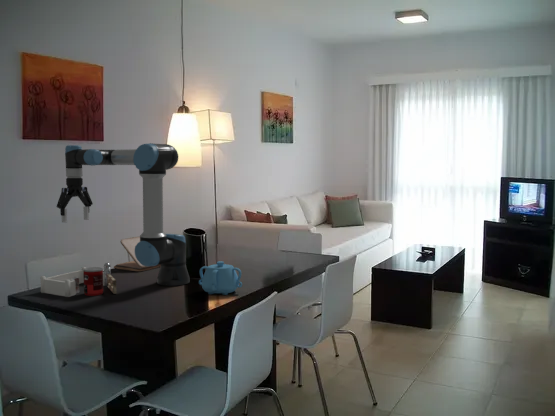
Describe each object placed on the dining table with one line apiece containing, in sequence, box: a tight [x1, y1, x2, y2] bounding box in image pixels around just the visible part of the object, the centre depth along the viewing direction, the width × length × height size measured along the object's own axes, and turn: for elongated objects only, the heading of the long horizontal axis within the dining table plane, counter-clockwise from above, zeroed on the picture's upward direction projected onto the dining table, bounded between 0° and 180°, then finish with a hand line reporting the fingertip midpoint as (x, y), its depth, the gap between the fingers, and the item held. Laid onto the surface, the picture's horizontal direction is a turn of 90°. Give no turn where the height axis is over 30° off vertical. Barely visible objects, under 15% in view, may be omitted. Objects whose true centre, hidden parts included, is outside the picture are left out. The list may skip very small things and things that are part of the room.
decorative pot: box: [198, 260, 243, 296], centre depth 242 cm, size 16×16×14 cm
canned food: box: [83, 266, 104, 297], centre depth 238 cm, size 8×8×11 cm
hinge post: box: [103, 262, 112, 287], centre depth 253 cm, size 3×3×11 cm
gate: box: [106, 274, 118, 295], centre depth 244 cm, size 15×1×6 cm, turn 27°
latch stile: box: [71, 277, 80, 294], centre depth 240 cm, size 2×2×6 cm
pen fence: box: [40, 266, 105, 298], centre depth 247 cm, size 17×25×7 cm
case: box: [113, 236, 161, 273], centre depth 297 cm, size 20×21×16 cm
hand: (75, 221), depth 269 cm, fingers open, 13 cm apart
